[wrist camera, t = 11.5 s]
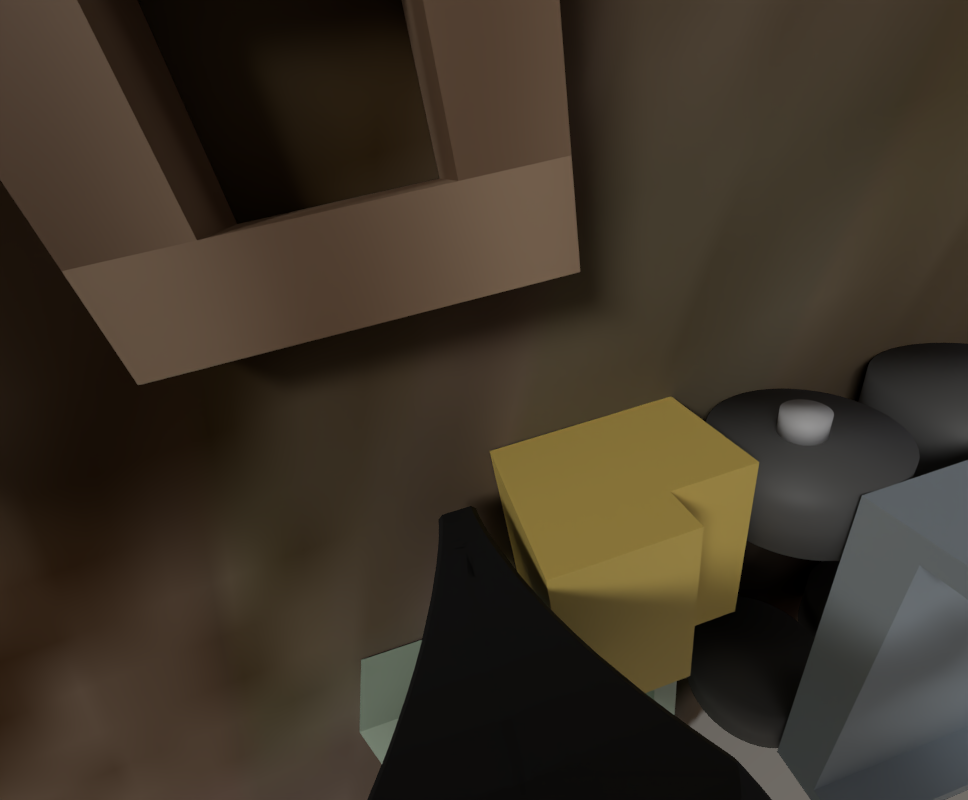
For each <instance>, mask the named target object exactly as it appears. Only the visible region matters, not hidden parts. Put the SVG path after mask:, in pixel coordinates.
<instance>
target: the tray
mask: <svg viewBox="0 0 968 800" xmlns="http://www.w3.org/2000/svg"><path fill="white" fill-rule="evenodd" d="M421 642H422V640H420V641H417V642H414V643H411V644H408V645H405V646H402V647H399V648H396V649H393V650H390V651H387V652H384V653H381V654H378V655H375V656H372V657H369V658H366V659H363V660H361V692H360V733H361V735H362V736H363V738H364V739H365V741H366V742H367V743H368V745H369V746H370V748H371V749H372V751H373V752H374V753H375V755H376V756H377V758H378V759H379V761H380V762H381V763H383V760H384V758H385V755H386V752H387V750H388V747H389V744H390V741H391V739H392V736H393V733H394V730H395V728H396V725H397V722H398V719H399V716H400V713H401V710H402V707H403V704H404V701H405V698H406V695H407V692H408V688H409V685H410V682H411V678H412V675H413V672H414V668H415V665H416V661H417V657H418V654H419V650H420V646H421ZM676 684H677V681H676V682H673V683H670V684H668V685H665V686H663V687H660V688H657V689H655V690H652V691H650V692H647V693H646V694H647V695H648V696H650V697H651V698H652V699H654V700H655V701H656V702H657V703H659V704H660V705H661V706H663V707H664V708H665V709H667V710H668V711H669V712H671V713H672V714H673V715H675V699H676Z"/></svg>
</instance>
